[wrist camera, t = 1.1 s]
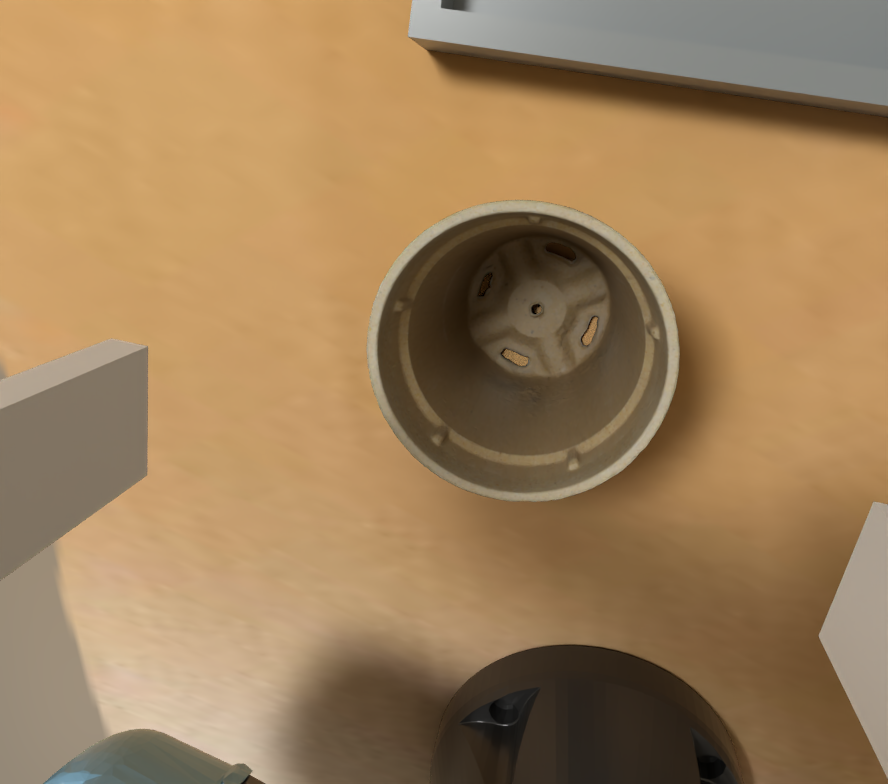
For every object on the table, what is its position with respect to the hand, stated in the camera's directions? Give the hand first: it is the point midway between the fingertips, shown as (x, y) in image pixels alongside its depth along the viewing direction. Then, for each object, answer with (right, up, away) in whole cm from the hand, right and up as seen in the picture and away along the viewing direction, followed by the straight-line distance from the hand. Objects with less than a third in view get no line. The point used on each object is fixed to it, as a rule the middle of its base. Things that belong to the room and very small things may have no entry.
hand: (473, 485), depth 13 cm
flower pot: (+3, +5, +17) cm, 18 cm away
